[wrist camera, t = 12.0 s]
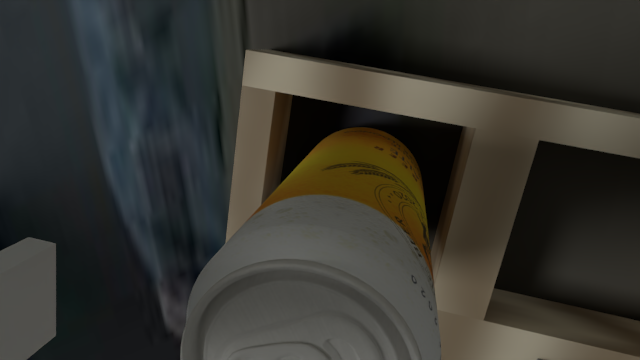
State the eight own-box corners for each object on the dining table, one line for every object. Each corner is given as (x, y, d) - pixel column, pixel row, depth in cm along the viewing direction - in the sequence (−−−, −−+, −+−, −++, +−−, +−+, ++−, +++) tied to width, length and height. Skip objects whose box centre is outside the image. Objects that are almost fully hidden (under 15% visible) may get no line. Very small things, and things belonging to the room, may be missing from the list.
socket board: (237, 316, 28) (211, 356, 24) (269, 49, 23) (243, 50, 19) (635, 415, 25) (674, 478, 21) (764, 135, 20) (842, 154, 17)
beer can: (433, 225, 24) (472, 484, 10) (322, 246, 25) (214, 499, 11) (406, 110, 23) (405, 218, 8) (290, 140, 24) (123, 274, 10)
